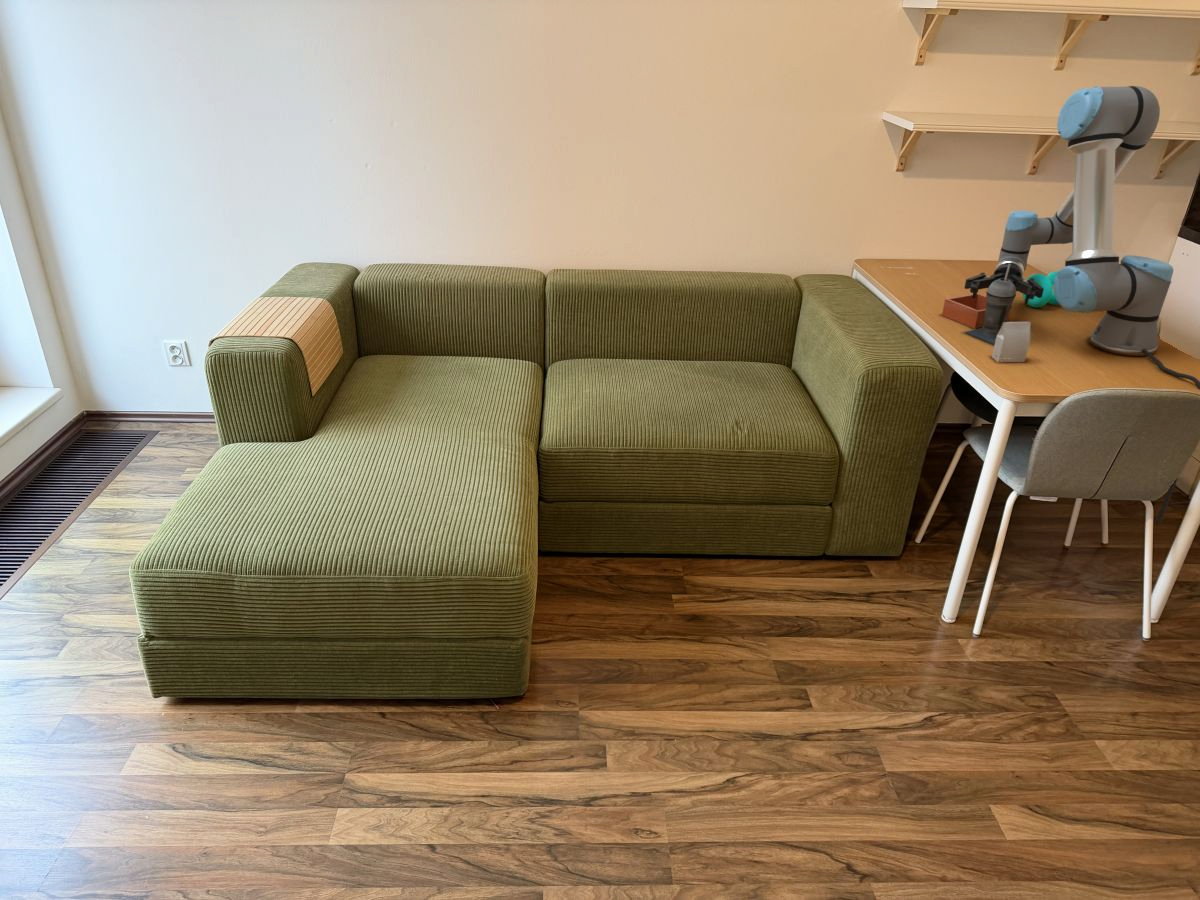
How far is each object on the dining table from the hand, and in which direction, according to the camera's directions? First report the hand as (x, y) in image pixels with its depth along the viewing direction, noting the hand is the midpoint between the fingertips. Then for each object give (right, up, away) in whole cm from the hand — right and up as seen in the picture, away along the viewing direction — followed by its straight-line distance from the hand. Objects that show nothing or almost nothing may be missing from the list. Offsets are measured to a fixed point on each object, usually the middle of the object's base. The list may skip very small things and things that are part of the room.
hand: (1000, 296), depth 211 cm
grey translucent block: (-1, -17, -6) cm, 18 cm away
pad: (+2, -9, +9) cm, 13 cm away
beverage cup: (+2, -9, +9) cm, 13 cm away
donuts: (+28, +3, +31) cm, 42 cm away
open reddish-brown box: (+3, -2, +22) cm, 22 cm away
